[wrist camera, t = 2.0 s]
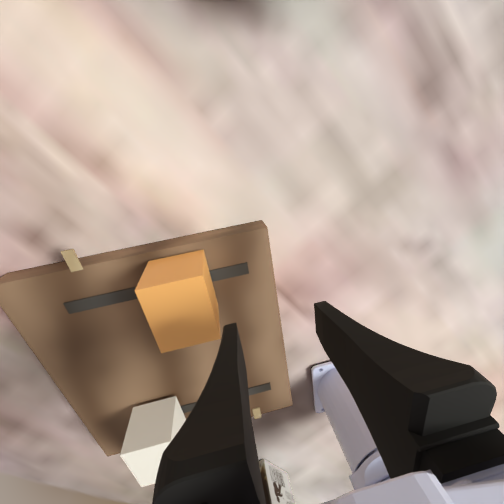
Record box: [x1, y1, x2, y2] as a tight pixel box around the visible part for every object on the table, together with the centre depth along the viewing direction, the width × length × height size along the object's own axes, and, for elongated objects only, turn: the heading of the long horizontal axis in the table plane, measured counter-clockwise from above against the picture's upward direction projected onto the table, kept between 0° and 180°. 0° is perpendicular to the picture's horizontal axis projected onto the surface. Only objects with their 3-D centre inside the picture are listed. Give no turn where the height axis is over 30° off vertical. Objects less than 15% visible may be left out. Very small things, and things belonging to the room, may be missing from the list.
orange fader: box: [135, 249, 221, 353], centre depth 18 cm, size 4×5×4 cm
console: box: [0, 220, 293, 456], centre depth 23 cm, size 20×23×2 cm
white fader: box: [120, 396, 186, 487], centre depth 23 cm, size 4×5×4 cm
